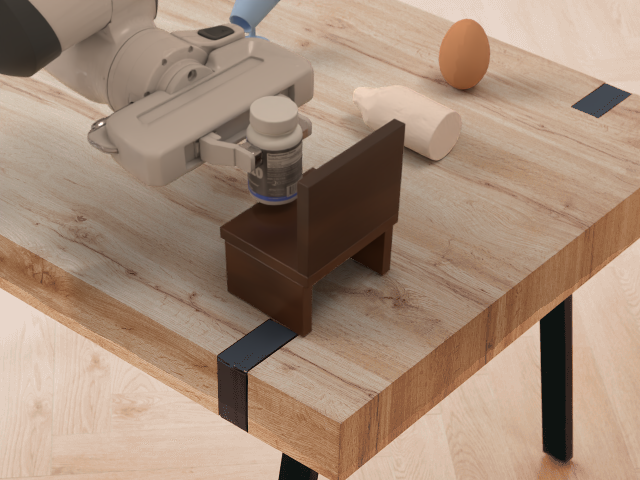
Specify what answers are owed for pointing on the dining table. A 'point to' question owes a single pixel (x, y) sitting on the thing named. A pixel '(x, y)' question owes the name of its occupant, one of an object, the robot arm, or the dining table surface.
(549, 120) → the dining table surface
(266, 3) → the spotlight
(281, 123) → the pill bottle
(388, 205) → the small wooden chair
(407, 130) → the beige bottle
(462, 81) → the egg
